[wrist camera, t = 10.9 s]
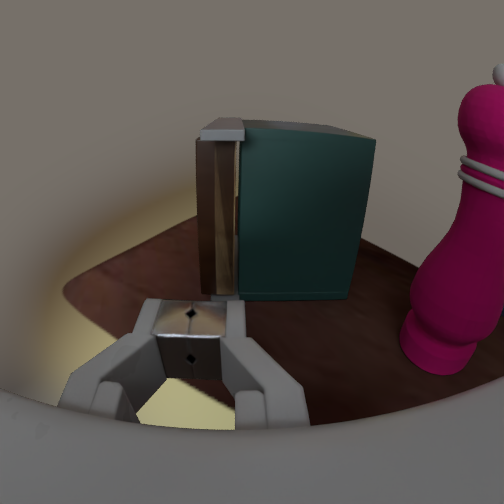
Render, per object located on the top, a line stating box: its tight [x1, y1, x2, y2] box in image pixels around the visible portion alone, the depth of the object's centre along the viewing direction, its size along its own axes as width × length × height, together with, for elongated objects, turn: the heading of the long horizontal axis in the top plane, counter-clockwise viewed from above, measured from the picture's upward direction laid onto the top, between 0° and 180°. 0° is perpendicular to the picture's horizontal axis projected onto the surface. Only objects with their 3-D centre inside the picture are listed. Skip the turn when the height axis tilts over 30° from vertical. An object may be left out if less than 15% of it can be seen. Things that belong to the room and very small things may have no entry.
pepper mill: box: [399, 64, 504, 375], centre depth 14 cm, size 7×7×20 cm
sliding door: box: [196, 137, 237, 295], centre depth 23 cm, size 2×7×11 cm, turn 3°
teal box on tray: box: [200, 118, 376, 301], centre depth 24 cm, size 11×15×13 cm
